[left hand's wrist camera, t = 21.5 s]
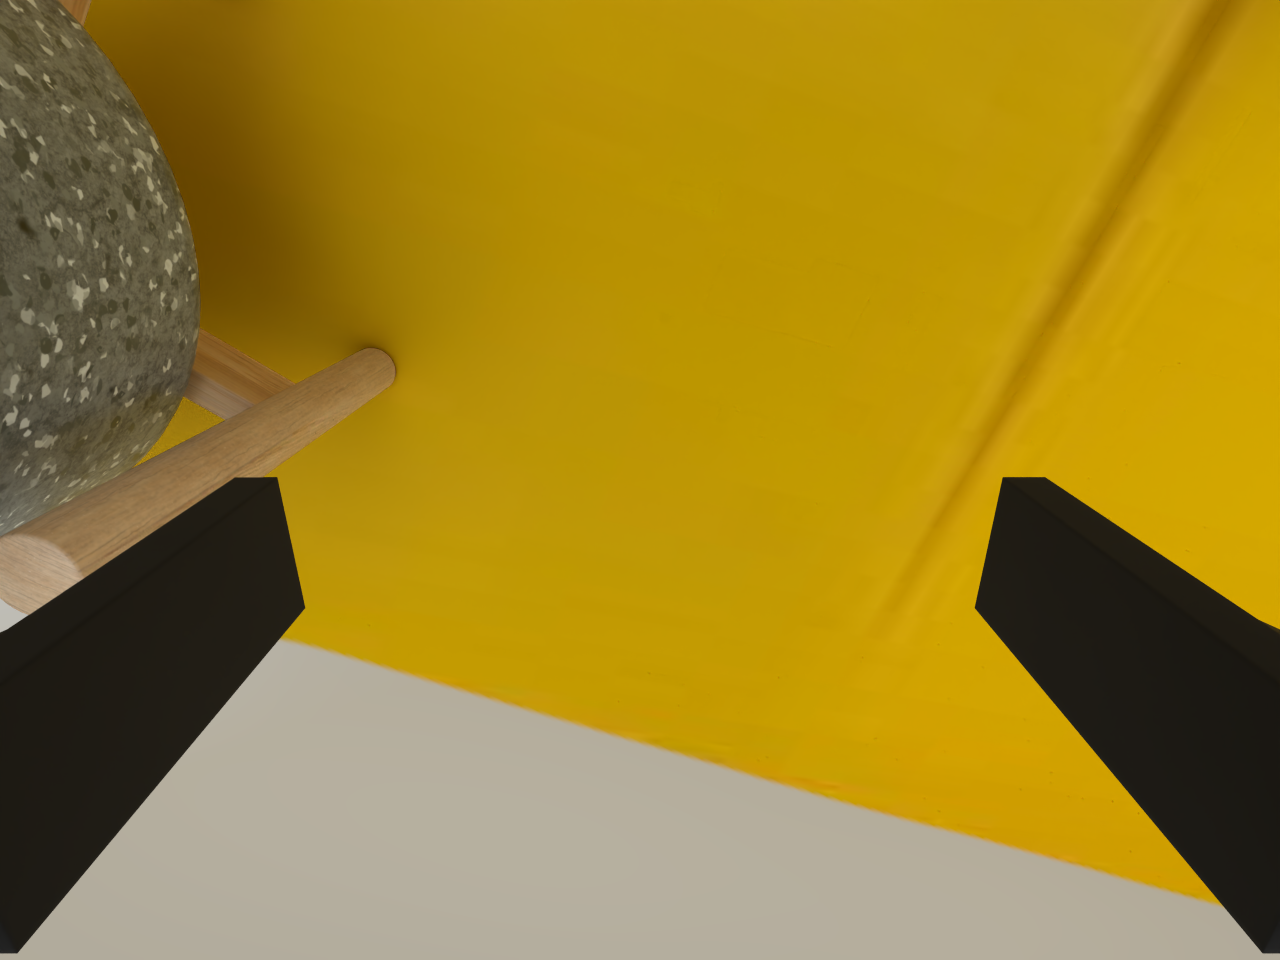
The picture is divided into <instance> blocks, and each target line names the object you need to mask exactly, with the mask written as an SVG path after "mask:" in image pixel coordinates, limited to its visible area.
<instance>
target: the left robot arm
mask: <svg viewBox="0 0 1280 960" xmlns="http://www.w3.org/2000/svg"><path fill="white" fill-rule="evenodd" d="M304 609H305V605H304V600H303V595H302V591H301V586H300V581H299V577H298V572H297V567H296V563H295V558H294V553H293V549H292V544H291V539H290V535H289V530H288V525H287V521H286V516H285V511H284V507H283V502H282V497H281V493H280V488H279V484H278V479H277V477H235V478H233V479H232V480H230V481H229V482H227V483H226V484H224V485H223V486H221V487H220V488H218V489H217V490H215V491H214V492H212V493H211V494H209V495H208V496H206V497H205V498H203V499H202V500H200V501H199V502H197V503H196V504H194V505H193V506H191V507H190V508H188V509H187V510H185V511H184V512H182V513H181V514H179V515H178V516H176V517H175V518H173V519H172V520H170V521H169V522H167V523H166V524H164V525H163V526H161V527H160V528H158V529H157V530H155V531H154V532H152V533H151V534H149V535H148V536H146V537H145V538H143V539H142V540H140V541H139V542H137V543H136V544H134V545H133V546H131V547H130V548H128V549H127V550H125V551H124V552H122V553H121V554H119V555H118V556H116V557H115V558H113V559H112V560H110V561H109V562H107V563H106V564H104V565H103V566H101V567H100V568H98V569H97V570H95V571H94V572H92V573H91V574H89V575H88V576H86V577H85V578H83V579H82V580H80V581H79V582H77V583H76V584H74V585H73V586H71V587H70V588H68V589H67V590H65V591H64V592H62V593H61V594H59V595H58V596H57V597H55V598H54V599H52V600H51V601H49V602H48V603H46V604H45V605H43V606H42V607H40V608H39V609H37V610H36V611H34V612H33V613H31V614H30V615H28V616H27V617H25V618H24V619H22V620H21V621H19V622H18V623H16V624H15V625H13V626H12V627H10V628H9V629H7V630H5V631H3V632H0V953H18V952H19V951H20V949H21V948H22V947H23V946H24V945H25V943H26V942H27V941H28V940H29V939H30V937H31V936H32V935H33V934H34V933H35V931H36V930H37V929H38V928H39V927H40V925H41V924H42V923H43V922H44V921H45V919H46V918H47V917H48V916H49V915H50V913H51V912H52V911H53V910H54V909H55V907H56V906H57V905H58V904H59V903H60V902H61V900H62V899H63V898H64V897H65V895H66V894H67V893H68V892H69V891H70V890H71V888H72V887H73V886H74V885H75V884H76V882H77V881H78V880H79V879H80V877H81V876H82V875H83V874H84V873H85V871H86V870H87V869H88V868H89V867H90V866H91V864H92V863H93V862H94V861H95V859H96V858H97V857H98V856H99V855H100V854H101V852H102V851H103V850H104V849H105V848H106V846H107V845H108V844H109V843H110V842H111V840H112V839H113V838H114V837H115V836H116V834H117V833H118V832H119V831H120V830H121V828H122V827H123V826H124V825H125V824H126V822H127V821H128V820H129V819H130V817H131V816H132V815H133V814H134V813H135V812H136V810H137V809H138V808H139V807H140V806H141V804H142V803H143V802H144V801H145V800H146V798H147V797H148V796H149V795H150V793H151V792H152V791H153V790H154V789H155V788H156V786H157V785H158V784H159V783H160V782H161V780H162V779H163V778H164V777H165V776H166V774H167V773H168V772H169V771H170V770H171V768H172V767H173V766H174V765H175V764H176V762H177V761H178V760H179V759H180V758H181V756H182V755H183V754H184V753H185V752H186V750H187V749H188V748H189V747H190V746H191V744H192V743H193V742H194V741H195V740H196V738H197V737H198V736H199V735H200V734H201V732H202V731H203V730H204V729H205V728H206V726H207V725H208V724H209V723H210V722H211V720H212V719H213V718H214V717H215V716H216V714H217V713H218V712H219V711H220V710H221V708H222V707H223V706H224V705H225V704H226V702H227V701H228V700H229V699H230V698H231V696H232V695H233V694H234V693H235V692H236V690H237V689H238V688H239V687H240V686H241V684H242V683H243V682H244V681H245V680H246V678H247V677H248V676H249V675H250V674H251V672H252V671H253V670H254V669H255V668H256V666H257V665H258V664H259V663H260V662H261V660H262V659H263V658H264V657H265V656H266V654H267V653H268V652H269V651H270V650H271V648H272V647H273V646H274V645H275V644H276V642H277V641H278V640H279V639H280V638H281V636H282V635H283V634H284V633H285V632H286V630H287V629H288V628H289V627H290V626H291V624H292V623H293V622H294V621H295V620H296V618H297V617H298V616H299V615H300V614H301V612H302V611H303V610H304ZM975 609H976V610H977V611H978V612H979V614H980V615H981V616H982V617H983V618H984V620H985V621H986V622H987V623H988V624H989V626H990V627H991V628H992V629H993V630H994V632H995V633H996V634H997V635H998V636H999V638H1000V639H1001V640H1002V641H1003V642H1004V644H1005V645H1006V646H1007V647H1008V648H1009V650H1010V651H1011V652H1012V653H1013V654H1014V656H1015V657H1016V658H1017V659H1018V660H1019V662H1020V663H1021V664H1022V665H1023V666H1024V668H1025V669H1026V670H1027V671H1028V672H1029V674H1030V675H1031V676H1032V677H1033V678H1034V680H1035V681H1036V682H1037V683H1038V684H1039V686H1040V687H1041V688H1042V689H1043V690H1044V692H1045V693H1046V694H1047V695H1048V696H1049V698H1050V699H1051V700H1052V701H1053V702H1054V704H1055V705H1056V706H1057V707H1058V708H1059V710H1060V711H1061V712H1062V713H1063V714H1064V716H1065V717H1066V718H1067V719H1068V720H1069V722H1070V723H1071V724H1072V725H1073V726H1074V728H1075V729H1076V730H1077V731H1078V732H1079V734H1080V735H1081V736H1082V737H1083V738H1084V740H1085V741H1086V742H1087V743H1088V744H1089V746H1090V747H1091V748H1092V749H1093V750H1094V752H1095V753H1096V754H1097V755H1098V756H1099V758H1100V759H1101V760H1102V761H1103V762H1104V764H1105V765H1106V766H1107V767H1108V768H1109V770H1110V771H1111V772H1112V773H1113V774H1114V776H1115V777H1116V778H1117V779H1118V780H1119V782H1120V783H1121V784H1122V785H1123V786H1124V788H1125V789H1126V790H1127V791H1128V792H1129V794H1130V795H1131V796H1132V797H1133V798H1134V800H1135V801H1136V802H1137V803H1138V804H1139V806H1140V807H1141V808H1142V809H1143V810H1144V812H1145V813H1146V814H1147V815H1148V816H1149V818H1150V819H1151V820H1152V821H1153V822H1154V824H1155V825H1156V826H1157V827H1158V828H1159V830H1160V831H1161V832H1162V833H1163V834H1164V836H1165V837H1166V838H1167V839H1168V840H1169V842H1170V843H1171V844H1172V845H1173V846H1174V848H1175V849H1176V850H1177V851H1178V852H1179V854H1180V855H1181V856H1182V857H1183V858H1184V860H1185V861H1186V862H1187V863H1188V864H1189V866H1190V867H1191V868H1192V869H1193V870H1194V872H1195V873H1196V874H1197V875H1198V876H1199V878H1200V879H1201V880H1202V881H1203V882H1204V884H1205V885H1206V886H1207V887H1208V888H1209V890H1210V891H1211V892H1212V893H1213V894H1214V896H1215V897H1216V898H1217V899H1218V900H1219V902H1220V903H1221V904H1222V905H1223V906H1224V908H1225V909H1226V910H1227V911H1228V912H1229V913H1230V915H1231V916H1232V917H1233V918H1234V919H1235V921H1236V922H1237V923H1238V924H1239V925H1240V927H1241V928H1242V929H1243V930H1244V931H1245V933H1246V934H1247V935H1248V936H1249V937H1250V939H1251V940H1252V941H1253V942H1254V943H1255V945H1256V946H1257V947H1258V948H1259V949H1260V951H1261V952H1262V953H1280V629H1278V628H1275V627H1273V626H1271V625H1269V624H1267V623H1264V622H1262V621H1260V620H1258V619H1256V618H1255V617H1253V616H1252V615H1250V614H1249V613H1247V612H1246V611H1244V610H1243V609H1241V608H1240V607H1238V606H1237V605H1235V604H1234V603H1232V602H1231V601H1229V600H1228V599H1226V598H1225V597H1223V596H1222V595H1221V594H1219V593H1218V592H1216V591H1215V590H1213V589H1212V588H1210V587H1209V586H1207V585H1206V584H1204V583H1203V582H1201V581H1200V580H1198V579H1197V578H1195V577H1194V576H1192V575H1191V574H1189V573H1188V572H1186V571H1185V570H1183V569H1182V568H1180V567H1179V566H1177V565H1176V564H1174V563H1173V562H1171V561H1170V560H1168V559H1167V558H1165V557H1164V556H1162V555H1161V554H1159V553H1158V552H1156V551H1155V550H1153V549H1152V548H1150V547H1149V546H1147V545H1146V544H1144V543H1143V542H1141V541H1140V540H1138V539H1137V538H1135V537H1134V536H1132V535H1131V534H1129V533H1128V532H1126V531H1125V530H1123V529H1122V528H1120V527H1119V526H1117V525H1116V524H1114V523H1113V522H1111V521H1110V520H1108V519H1107V518H1105V517H1104V516H1102V515H1101V514H1099V513H1098V512H1096V511H1095V510H1093V509H1092V508H1090V507H1089V506H1087V505H1086V504H1084V503H1083V502H1081V501H1080V500H1078V499H1077V498H1075V497H1074V496H1072V495H1071V494H1069V493H1068V492H1066V491H1065V490H1063V489H1062V488H1060V487H1059V486H1057V485H1056V484H1054V483H1053V482H1051V481H1050V480H1048V479H1047V478H1045V477H1003V479H1002V484H1001V488H1000V493H999V497H998V502H997V507H996V511H995V516H994V521H993V525H992V530H991V535H990V539H989V544H988V549H987V553H986V558H985V563H984V567H983V572H982V577H981V581H980V586H979V591H978V595H977V600H976V605H975Z"/></svg>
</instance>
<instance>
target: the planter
mask: <svg viewBox="0 0 1280 960" xmlns="http://www.w3.org/2000/svg"><path fill="white" fill-rule="evenodd" d="M90 3H91V0H0V598H1V599H2V600H3V601H4V602H6V603H7V604H8V605H10V606H11V607H13V608H14V609H16V610H18V611H20V612H22V613H25V614H28V615H30V614H31V613H33V612H34V611H36V610H37V609H39V608H40V607H42V606H43V605H45V604H46V603H48V602H49V601H51V600H52V599H54V598H55V597H57V596H58V595H59V594H61V593H62V592H64V591H65V590H67V589H68V588H70V587H71V586H73V585H74V584H76V583H77V582H79V581H80V580H82V579H83V578H85V577H86V576H88V575H89V574H91V573H92V572H94V571H95V570H97V569H98V568H100V567H101V566H103V565H104V564H106V563H107V562H109V561H110V560H112V559H113V558H115V557H116V556H118V555H119V554H121V553H122V552H124V551H125V550H127V549H128V548H130V547H131V546H133V545H134V544H136V543H137V542H139V541H140V540H142V539H143V538H145V537H146V536H148V535H149V534H151V533H152V532H154V531H155V530H157V529H158V528H160V527H161V526H163V525H164V524H166V523H167V522H169V521H170V520H172V519H173V518H175V517H176V516H178V515H179V514H181V513H182V512H184V511H185V510H187V509H188V508H190V507H191V506H193V505H194V504H196V503H197V502H199V501H200V500H202V499H203V498H205V497H206V496H208V495H209V494H211V493H212V492H214V491H215V490H217V489H218V488H220V487H221V486H223V485H224V484H226V483H227V482H229V481H230V480H232V479H233V478H235V477H263V476H265V475H266V474H267V473H269V472H270V471H272V470H273V469H274V468H276V467H277V466H279V465H280V464H281V463H283V462H284V461H286V460H287V459H288V458H290V457H291V456H293V455H294V454H295V453H297V452H298V451H300V450H301V449H302V448H304V447H305V446H307V445H308V444H309V443H311V442H312V441H314V440H315V439H316V438H318V437H319V436H320V435H322V434H323V433H325V432H326V431H327V430H329V429H330V428H332V427H333V426H334V425H336V424H337V423H339V422H340V421H341V420H343V419H344V418H346V417H347V416H348V415H350V414H351V413H353V412H354V411H355V410H357V409H358V408H360V407H361V406H362V405H364V404H365V403H367V402H368V401H369V400H371V399H372V398H373V397H375V396H376V395H378V394H379V393H380V392H382V391H383V390H385V389H386V388H387V387H389V386H390V385H391V384H392V382H393V381H394V378H395V372H396V371H395V366H394V363H393V361H392V359H391V358H390V357H389V356H388V355H387V354H386V353H385V352H383V351H381V350H379V349H376V348H366V349H363V350H361V351H359V352H357V353H355V354H353V355H351V356H349V357H347V358H345V359H343V360H341V361H339V362H337V363H336V364H334V365H332V366H330V367H328V368H326V369H324V370H322V371H320V372H318V373H316V374H314V375H312V376H310V377H308V378H306V379H305V380H303V381H301V382H299V383H297V384H295V383H293V382H291V381H290V380H288V379H286V378H285V377H283V376H281V375H279V374H278V373H276V372H274V371H273V370H271V369H269V368H267V367H266V366H264V365H262V364H261V363H259V362H257V361H256V360H254V359H252V358H250V357H249V356H247V355H245V354H244V353H242V352H240V351H238V350H237V349H235V348H233V347H232V346H230V345H228V344H226V343H225V342H223V341H221V340H220V339H218V338H216V337H214V336H213V335H211V334H209V333H208V332H206V331H204V330H202V329H201V328H200V305H201V300H200V285H199V270H198V264H197V258H196V252H195V246H194V240H193V236H192V232H191V228H190V224H189V221H188V217H187V213H186V209H185V206H184V202H183V199H182V197H181V194H180V191H179V189H178V186H177V183H176V180H175V178H174V175H173V172H172V169H171V167H170V165H169V163H168V160H167V158H166V156H165V154H164V152H163V150H162V147H161V145H160V143H159V141H158V139H157V137H156V135H155V132H154V131H153V129H152V127H151V125H150V124H149V122H148V120H147V118H146V116H145V115H144V113H143V111H142V109H141V108H140V106H139V104H138V102H137V101H136V99H135V97H134V95H133V94H132V93H131V91H130V90H129V88H128V87H127V85H126V84H125V82H124V81H123V79H122V78H121V76H120V75H119V73H118V72H117V70H116V69H115V67H114V66H113V64H112V63H111V61H110V60H109V59H108V58H107V56H106V55H105V54H104V53H103V51H102V50H101V49H100V48H99V46H98V45H97V44H96V42H95V41H94V40H93V39H92V37H91V36H90V35H89V34H88V32H87V31H86V30H85V29H84V27H83V26H84V23H85V19H86V16H87V13H88V10H89V6H90ZM183 396H184V397H186V398H187V399H189V400H191V401H193V402H194V403H196V404H198V405H200V406H202V407H203V408H205V409H207V410H209V411H211V412H212V413H214V414H216V415H218V416H220V417H221V418H223V419H225V421H223V422H221V423H219V424H217V425H215V426H213V427H211V428H210V429H208V430H206V431H204V432H202V433H200V434H198V435H196V436H194V437H192V438H190V439H188V440H186V441H184V442H182V443H180V444H179V445H177V446H175V447H173V448H171V449H169V450H167V451H165V452H163V453H161V454H159V455H157V456H155V457H153V458H151V459H149V460H147V461H146V462H144V463H142V464H140V465H138V466H136V467H134V466H135V465H136V464H137V463H138V462H139V461H140V460H141V459H142V458H143V457H144V456H145V455H146V454H147V453H148V452H149V450H150V449H151V448H152V447H153V445H154V444H155V443H156V442H157V440H158V439H159V438H160V437H161V435H162V434H163V432H164V431H165V429H166V427H167V426H168V424H169V422H170V421H171V419H172V417H173V416H174V414H175V412H176V411H177V409H178V407H179V404H180V402H181V400H182V397H183ZM132 467H134V468H132ZM131 468H132V469H131Z"/></svg>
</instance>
